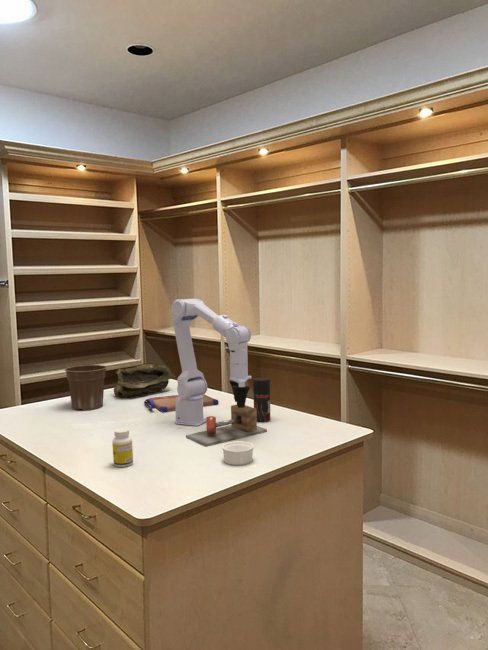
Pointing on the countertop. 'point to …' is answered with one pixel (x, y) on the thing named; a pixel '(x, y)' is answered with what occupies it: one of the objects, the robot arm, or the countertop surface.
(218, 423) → the copper head mallet
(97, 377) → the plant pot
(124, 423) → the countertop surface
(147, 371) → the hollow geode rock
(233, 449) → the ramekin
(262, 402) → the deodorant
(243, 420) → the eye block
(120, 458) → the supplement bottle
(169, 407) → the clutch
